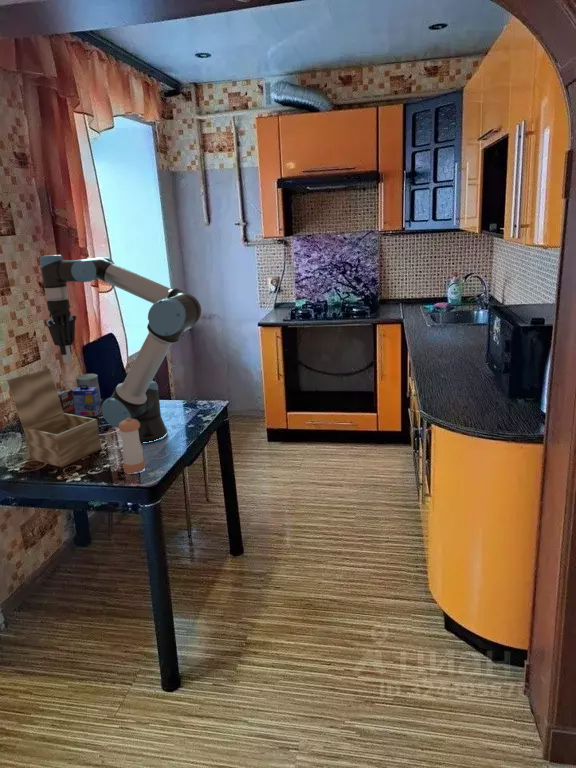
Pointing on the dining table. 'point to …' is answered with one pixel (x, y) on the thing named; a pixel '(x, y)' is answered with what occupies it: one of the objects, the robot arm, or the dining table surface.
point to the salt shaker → (131, 446)
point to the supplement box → (67, 401)
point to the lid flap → (35, 397)
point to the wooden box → (62, 439)
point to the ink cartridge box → (86, 401)
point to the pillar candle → (88, 381)
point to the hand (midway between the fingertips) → (67, 362)
